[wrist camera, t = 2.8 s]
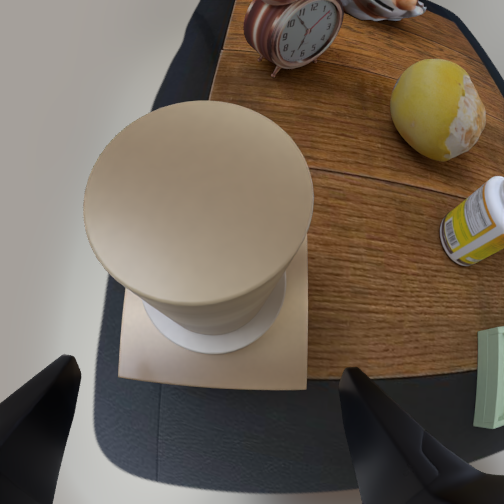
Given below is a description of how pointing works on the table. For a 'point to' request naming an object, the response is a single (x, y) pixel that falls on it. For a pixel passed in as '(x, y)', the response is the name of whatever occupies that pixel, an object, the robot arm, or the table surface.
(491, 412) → the mint green tray
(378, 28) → the table surface
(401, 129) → the fruit
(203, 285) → the tan cylindrical piece
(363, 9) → the lucky cat figurine
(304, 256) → the stand
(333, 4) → the alarm clock
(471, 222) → the supplement bottle
